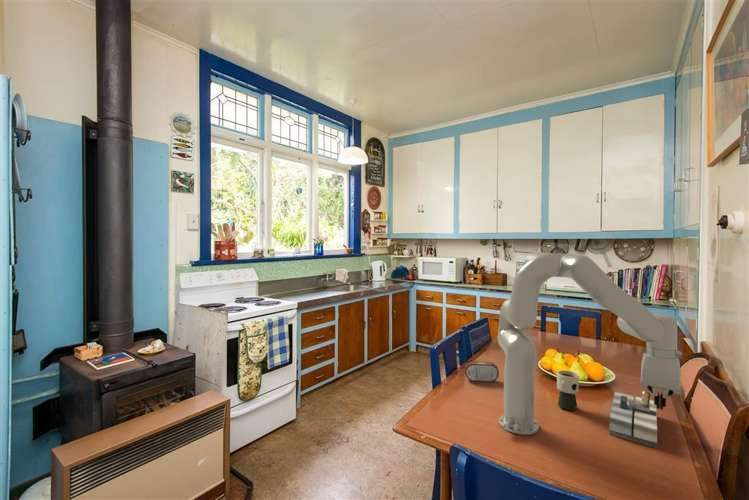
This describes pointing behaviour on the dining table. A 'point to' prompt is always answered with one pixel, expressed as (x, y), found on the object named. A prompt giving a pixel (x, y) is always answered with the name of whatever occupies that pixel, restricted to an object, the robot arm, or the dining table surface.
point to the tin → (481, 371)
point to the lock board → (633, 420)
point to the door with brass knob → (645, 402)
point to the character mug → (567, 389)
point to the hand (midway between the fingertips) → (659, 407)
